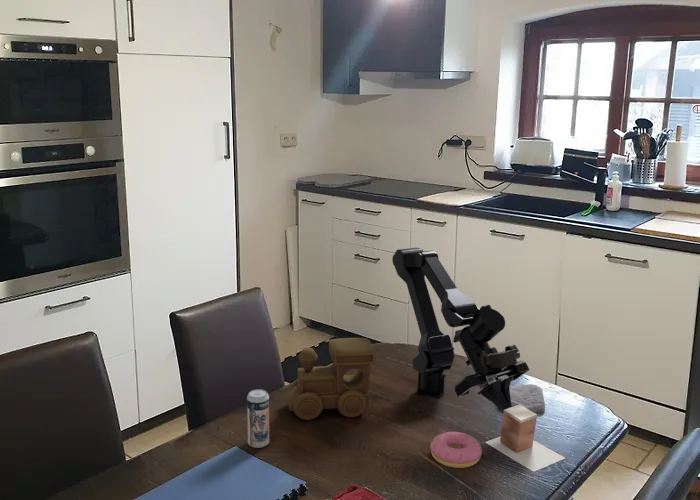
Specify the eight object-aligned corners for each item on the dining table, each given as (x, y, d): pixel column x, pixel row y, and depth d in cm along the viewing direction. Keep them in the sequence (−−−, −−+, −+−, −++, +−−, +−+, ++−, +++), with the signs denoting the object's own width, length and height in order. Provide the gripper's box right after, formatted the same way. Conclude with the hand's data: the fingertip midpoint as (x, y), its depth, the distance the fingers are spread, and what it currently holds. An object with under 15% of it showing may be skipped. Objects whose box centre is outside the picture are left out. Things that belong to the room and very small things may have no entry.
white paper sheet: (484, 443, 154) (485, 442, 154) (516, 431, 159) (516, 430, 159) (533, 472, 142) (533, 471, 142) (565, 459, 148) (565, 458, 148)
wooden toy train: (365, 397, 175) (367, 335, 171) (374, 418, 164) (376, 353, 160) (286, 401, 171) (286, 338, 168) (290, 423, 161) (290, 356, 157)
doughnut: (491, 459, 147) (493, 441, 146) (458, 478, 140) (459, 459, 139) (452, 439, 155) (453, 422, 154) (419, 456, 148) (419, 438, 147)
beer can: (251, 451, 148) (251, 399, 145) (244, 441, 152) (243, 390, 149) (272, 446, 150) (272, 395, 148) (264, 436, 154) (264, 386, 152)
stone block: (547, 421, 168) (540, 396, 177) (548, 405, 166) (542, 380, 175) (497, 419, 170) (493, 394, 179) (498, 403, 168) (494, 379, 177)
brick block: (499, 441, 153) (503, 409, 151) (515, 436, 156) (519, 404, 154) (516, 453, 149) (521, 420, 147) (532, 446, 152) (537, 414, 150)
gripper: (466, 342, 148) (500, 409, 142) (526, 327, 159) (561, 389, 152) (440, 364, 157) (471, 429, 150) (499, 348, 167) (530, 408, 160)
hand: (510, 413), depth 153 cm, fingers closed
